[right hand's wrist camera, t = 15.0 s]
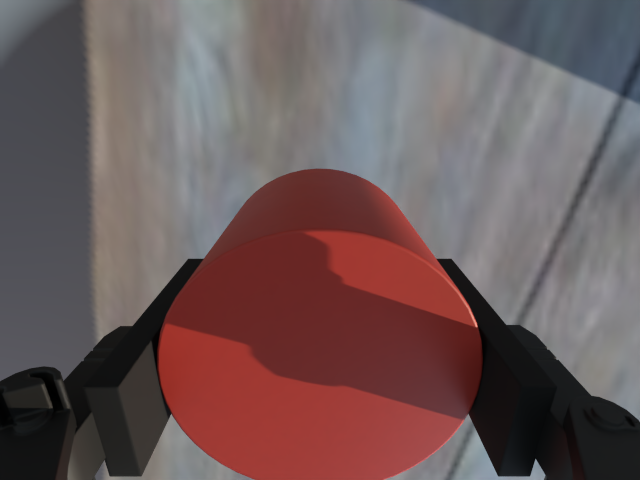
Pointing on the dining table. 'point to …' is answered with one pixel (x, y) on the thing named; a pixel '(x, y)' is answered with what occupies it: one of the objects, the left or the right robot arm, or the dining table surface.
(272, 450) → the canister
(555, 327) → the dining table surface
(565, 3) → the dining table surface
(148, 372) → the right robot arm
